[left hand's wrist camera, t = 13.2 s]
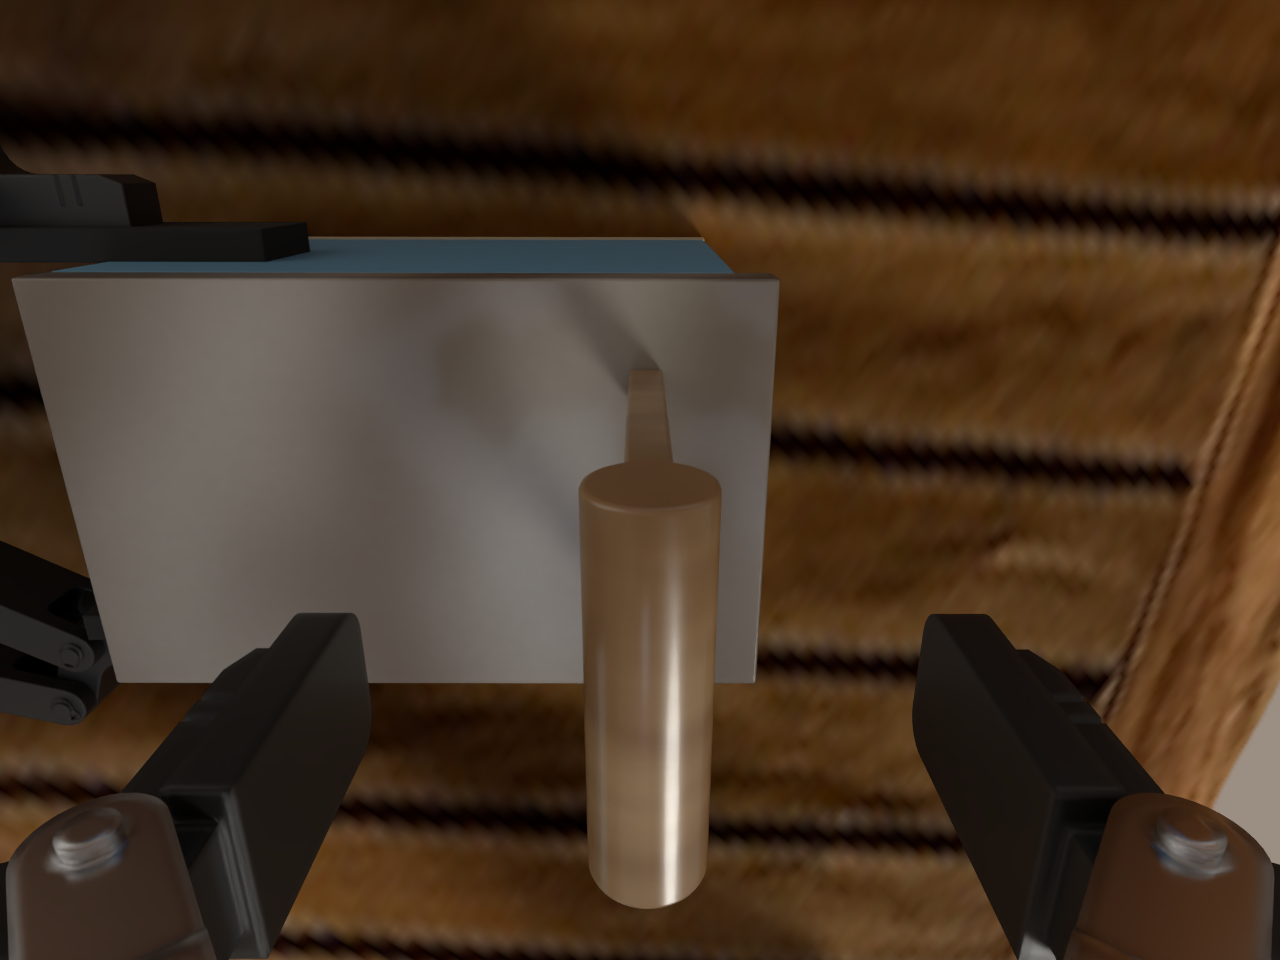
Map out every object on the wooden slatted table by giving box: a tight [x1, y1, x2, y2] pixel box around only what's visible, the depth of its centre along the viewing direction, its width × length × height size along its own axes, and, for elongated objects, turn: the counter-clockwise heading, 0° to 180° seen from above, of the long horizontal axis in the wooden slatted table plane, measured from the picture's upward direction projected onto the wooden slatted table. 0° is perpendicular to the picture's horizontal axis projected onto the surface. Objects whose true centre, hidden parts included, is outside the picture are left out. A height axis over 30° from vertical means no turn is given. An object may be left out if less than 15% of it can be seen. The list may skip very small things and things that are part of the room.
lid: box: [12, 272, 780, 909], centre depth 14 cm, size 15×9×9 cm, turn 90°
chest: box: [52, 237, 734, 273], centre depth 23 cm, size 14×9×10 cm, turn 90°
